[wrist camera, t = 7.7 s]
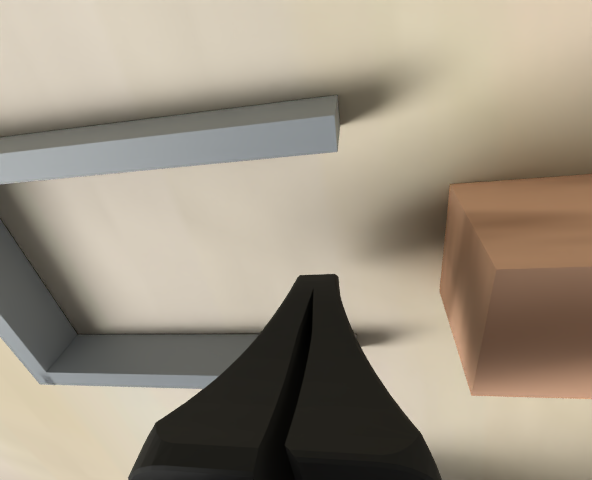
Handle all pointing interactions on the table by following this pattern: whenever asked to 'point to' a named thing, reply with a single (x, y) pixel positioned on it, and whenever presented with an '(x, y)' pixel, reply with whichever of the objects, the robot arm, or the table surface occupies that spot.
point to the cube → (521, 285)
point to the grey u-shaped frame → (127, 158)
